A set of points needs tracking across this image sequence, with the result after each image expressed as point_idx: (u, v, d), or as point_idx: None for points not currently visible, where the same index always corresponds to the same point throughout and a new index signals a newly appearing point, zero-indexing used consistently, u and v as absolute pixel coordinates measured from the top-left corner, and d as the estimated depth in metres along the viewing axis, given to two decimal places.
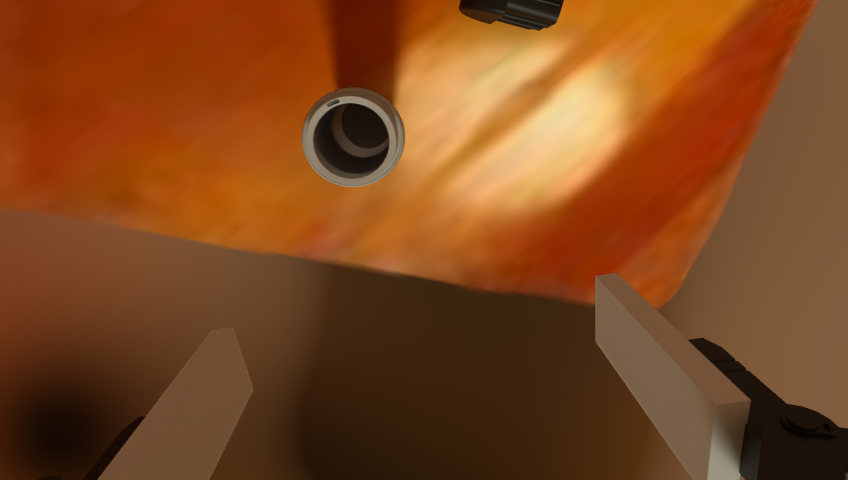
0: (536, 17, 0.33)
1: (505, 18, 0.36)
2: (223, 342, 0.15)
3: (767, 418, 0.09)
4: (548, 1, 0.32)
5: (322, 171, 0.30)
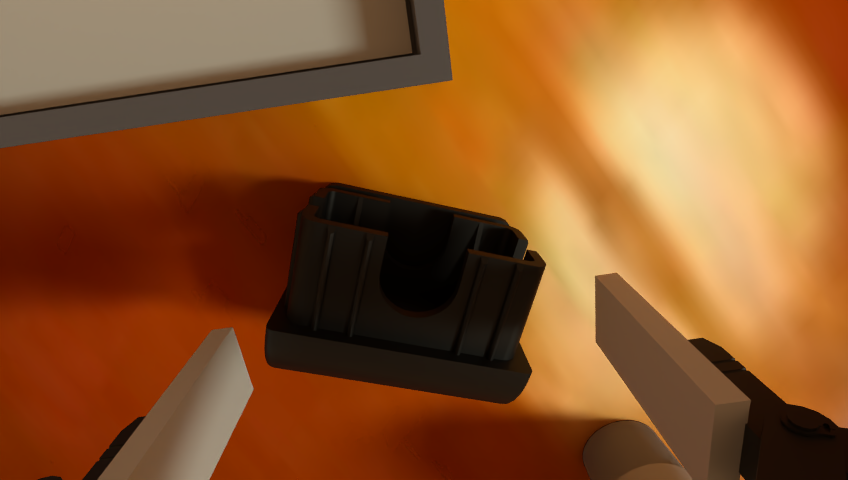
0: None
1: None
2: (223, 342, 0.15)
3: (767, 418, 0.09)
4: (509, 288, 0.16)
5: None
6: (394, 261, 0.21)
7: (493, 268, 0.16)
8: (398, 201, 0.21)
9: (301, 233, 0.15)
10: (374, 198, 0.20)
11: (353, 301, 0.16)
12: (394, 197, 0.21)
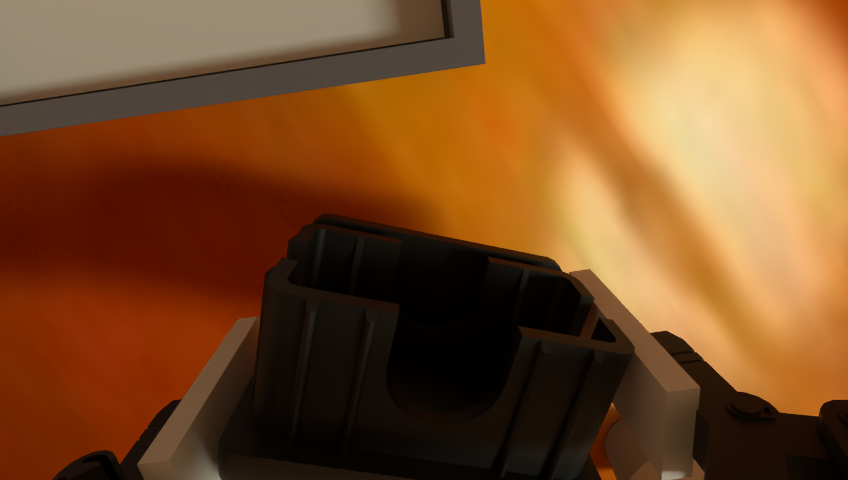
0: (612, 399, 0.11)
1: None
2: (250, 330, 0.16)
3: (714, 405, 0.10)
4: (581, 385, 0.11)
5: None
6: (407, 319, 0.15)
7: (558, 357, 0.11)
8: (412, 239, 0.15)
9: (267, 308, 0.10)
10: (379, 237, 0.14)
11: (347, 404, 0.11)
12: (407, 234, 0.15)
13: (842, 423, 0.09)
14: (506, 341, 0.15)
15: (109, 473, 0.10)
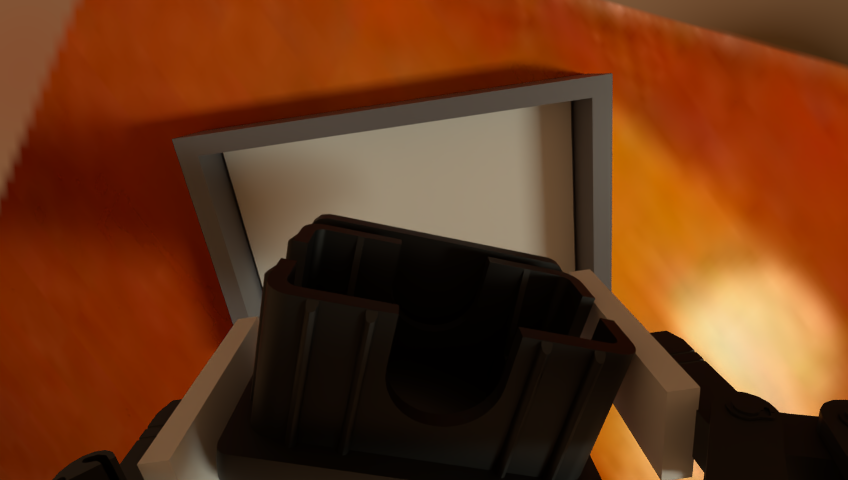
0: (613, 399, 0.11)
1: None
2: (250, 330, 0.16)
3: (714, 406, 0.10)
4: (582, 386, 0.11)
5: None
6: (407, 320, 0.15)
7: (559, 358, 0.11)
8: (412, 239, 0.15)
9: (266, 309, 0.10)
10: (379, 237, 0.14)
11: (347, 405, 0.11)
12: (406, 234, 0.15)
13: (842, 423, 0.09)
14: (506, 341, 0.15)
15: (109, 473, 0.10)
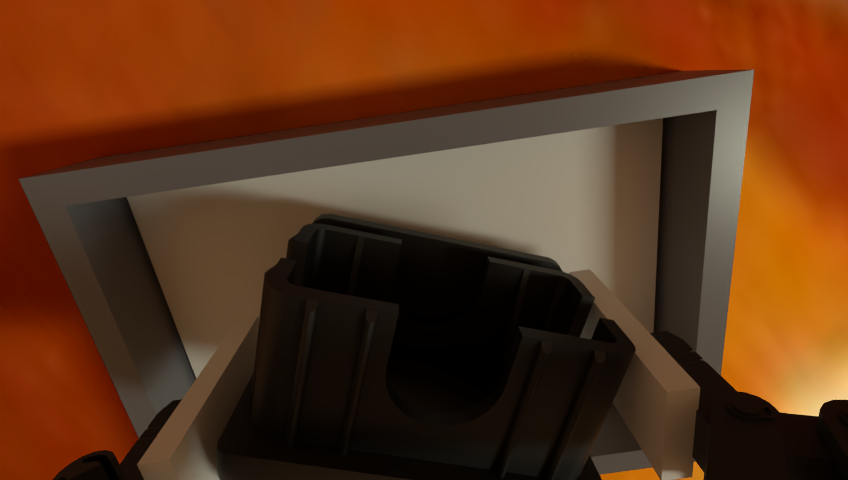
0: (613, 399, 0.11)
1: None
2: (250, 330, 0.16)
3: (714, 406, 0.10)
4: (581, 385, 0.11)
5: None
6: (407, 320, 0.15)
7: (558, 357, 0.11)
8: (412, 238, 0.15)
9: (266, 308, 0.10)
10: (379, 237, 0.14)
11: (346, 404, 0.11)
12: (407, 234, 0.15)
13: (842, 423, 0.09)
14: (506, 341, 0.15)
15: (110, 472, 0.10)
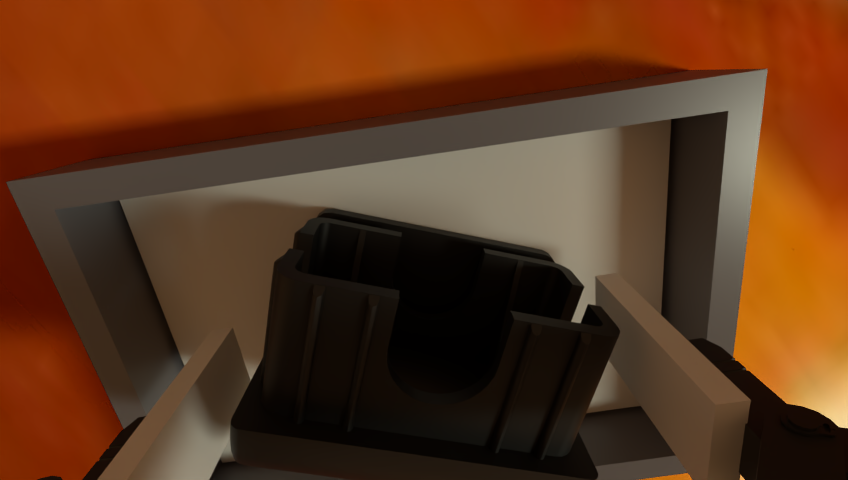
0: (599, 379, 0.12)
1: None
2: (223, 342, 0.15)
3: (767, 418, 0.09)
4: (569, 366, 0.12)
5: None
6: (407, 309, 0.16)
7: (548, 339, 0.11)
8: (411, 232, 0.16)
9: (276, 294, 0.11)
10: (380, 230, 0.15)
11: (350, 384, 0.12)
12: (406, 227, 0.16)
13: None
14: (501, 329, 0.16)
15: None
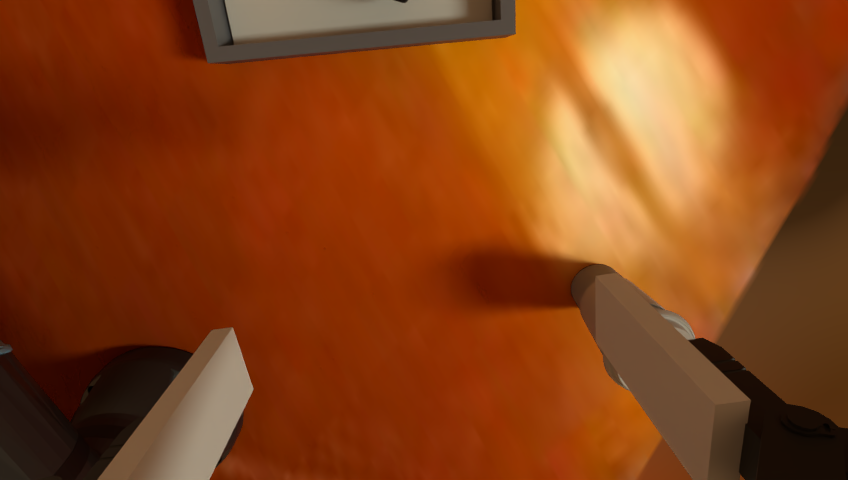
0: None
1: None
2: (223, 342, 0.15)
3: (767, 418, 0.09)
4: None
5: None
6: None
7: None
8: None
9: None
10: None
11: None
12: None
13: None
14: None
15: None
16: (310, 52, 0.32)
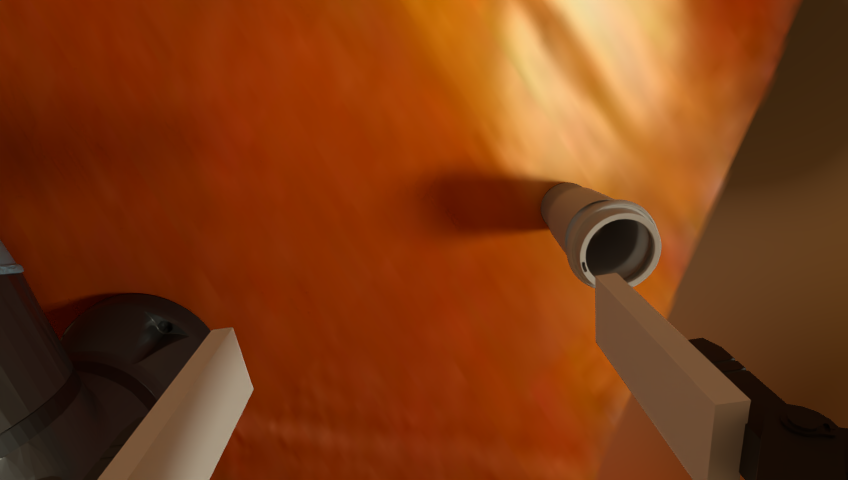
0: None
1: None
2: (223, 342, 0.15)
3: (767, 418, 0.09)
4: None
5: (643, 279, 0.32)
6: None
7: None
8: None
9: None
10: None
11: None
12: None
13: None
14: None
15: None
16: None
